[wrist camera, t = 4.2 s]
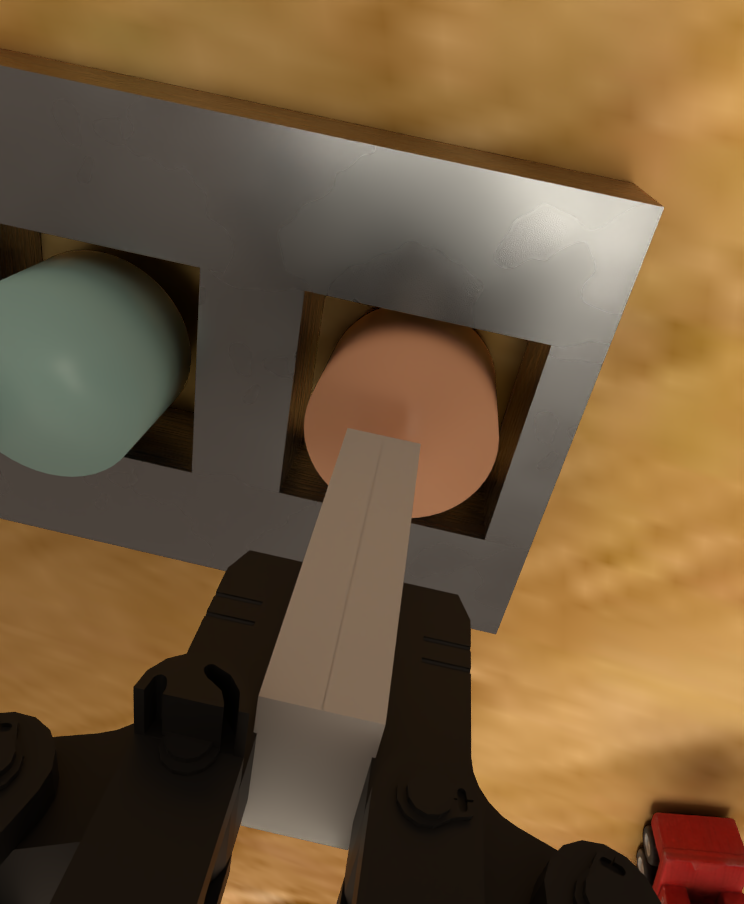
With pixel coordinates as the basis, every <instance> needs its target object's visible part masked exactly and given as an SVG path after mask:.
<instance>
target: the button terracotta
mask: <svg viewBox="0 0 744 904" xmlns="http://www.w3.org/2000/svg"><path fill="white" fill-rule="evenodd" d="M347 428H351V429H355V430H360V431H364V432H369V433H373V434H378V435H383V436H387V437H392V438H396V439H401V440H405V441H410V442H414V443H419V444H421V446H420V454H419V462H418V470H417V478H416V486H415V494H414V502H413V510H412V518H419V517H425V516H431V515H434V514H438V513H441V512H444V511H446V510H449V509H451V508H453V507H455V506H457V505H459V504H460V503H462V502H463V501H465V500H466V499H467V498H469V497H470V496H471V495H472V494H473V493H474V492H476V491H477V490H478V489H479V487H480V486H481V485H482V484H483V482H484V481H485V480H486V478H487V477H488V475H489V473H490V472H491V470H492V467H493V465H494V462H495V460H496V456H497V451H498V444H499V428H498V409H497V390H496V373H495V369H494V364H493V361H492V358H491V355H490V353H489V351H488V349H487V347H486V345H485V344H484V342H483V341H482V339H481V338H480V337H479V335H478V334H477V333H476V332H475V331H474V330H473V329H472V328H471V327H467V326H462V325H458V324H453V323H448V322H444V321H439V320H435V319H430V318H426V317H421V316H417V315H412V314H408V313H403V312H399V311H394V310H390V309H385V308H381V309H378V310H375V311H373V312H371V313H369V314H367V315H365V316H364V317H362V318H361V319H359V320H358V321H357V322H355V323H354V324H353V325H352V326H351V327H350V328H349V329H348V330H347V331H346V332H345V333H344V335H343V336H342V337H341V339H340V340H339V342H338V344H337V346H336V347H335V349H334V351H333V353H332V355H331V357H330V359H329V361H328V363H327V365H326V367H325V369H324V371H323V373H322V375H321V377H320V379H319V381H318V383H317V385H316V387H315V389H314V391H313V393H312V395H311V397H310V400H309V402H308V405H307V408H306V413H305V418H304V436H305V443H306V447H307V451H308V453H309V456H310V459H311V461H312V463H313V465H314V467H315V469H316V470H317V472H318V473H319V475H320V476H321V477H322V479H323V480H324V481H325V482H326V483H327V484H328V485H329V482H330V479H331V476H332V473H333V470H334V467H335V464H336V461H337V458H338V455H339V452H340V449H341V446H342V443H343V440H344V437H345V434H346V431H347Z"/></svg>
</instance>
